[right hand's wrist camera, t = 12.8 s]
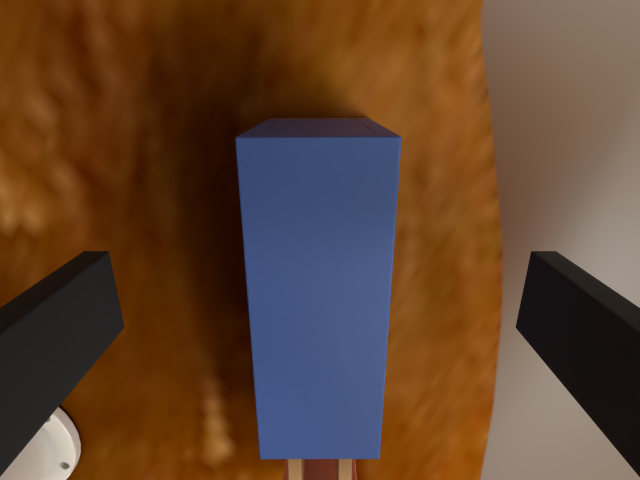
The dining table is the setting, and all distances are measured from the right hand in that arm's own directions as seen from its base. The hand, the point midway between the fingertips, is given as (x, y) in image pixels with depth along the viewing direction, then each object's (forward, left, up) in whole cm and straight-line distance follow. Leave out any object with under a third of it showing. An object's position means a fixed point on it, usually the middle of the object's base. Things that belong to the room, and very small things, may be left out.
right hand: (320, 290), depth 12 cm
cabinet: (+4, +2, -16) cm, 16 cm away
